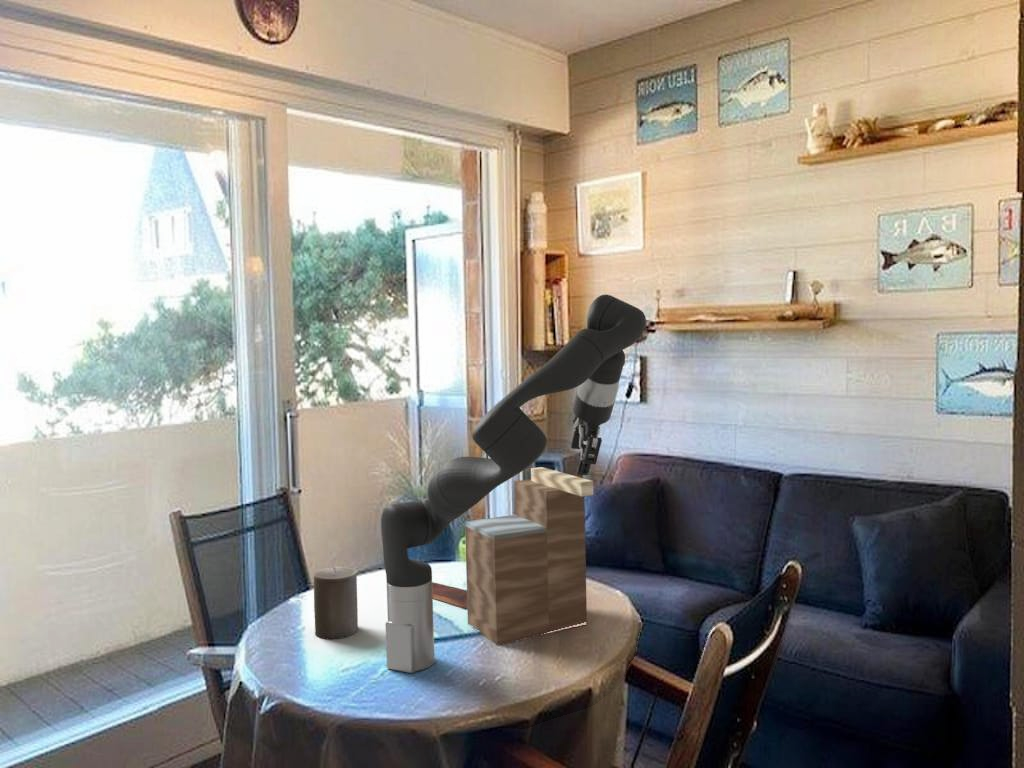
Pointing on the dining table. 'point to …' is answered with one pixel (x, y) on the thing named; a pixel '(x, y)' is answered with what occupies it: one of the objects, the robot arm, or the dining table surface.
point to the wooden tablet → (450, 595)
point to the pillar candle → (335, 602)
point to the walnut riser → (528, 565)
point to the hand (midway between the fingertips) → (578, 460)
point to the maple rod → (562, 481)
